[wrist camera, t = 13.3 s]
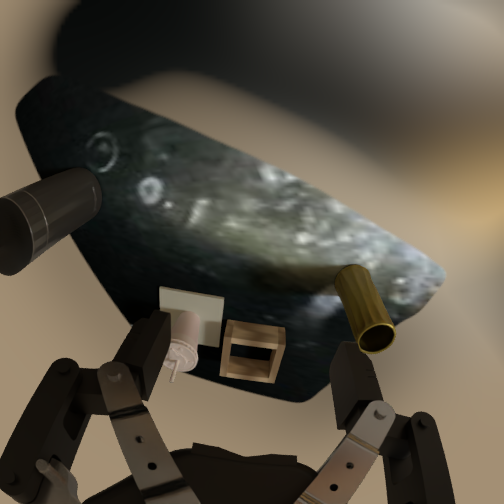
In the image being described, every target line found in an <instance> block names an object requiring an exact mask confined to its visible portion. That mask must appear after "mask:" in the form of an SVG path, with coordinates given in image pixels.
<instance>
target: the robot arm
mask: <svg viewBox="0 0 504 504" xmlns="http://www.w3.org/2000/svg"><path fill="white" fill-rule="evenodd" d="M101 203H102V193H101V188H100V185H99V183H98V180H97V179H96V177H95V176H94V175H93V174H92V173H91V172H90V171H88V170H87V169H85V168H81V167H76V168H72V169H69V170H67V171H64V172H61V173H58V174H55V175H53V176H50V177H48V178H45V179H43V180H40V181H38V182H35V183H33V184H30V185H28V186H26V187H24V188H21V189H19V190H16V191H14V192H12V193H10V194H8V195H6V196H3V197H1V198H0V273H1V274H3V275H7V276H11V275H14V274H17V273H18V272H19V271H21V270H22V269H23V268H25V267H26V266H27V265H28V264H29V263H31V262H32V261H33V260H35V259H36V258H37V257H38V256H40V255H41V254H42V253H44V252H45V251H46V250H48V249H49V248H50V247H52V246H53V245H54V244H56V243H57V242H58V241H60V240H61V239H63V238H64V237H66V236H67V235H68V234H70V233H71V232H73V231H74V230H75V229H77V228H78V227H80V226H81V225H83V224H84V223H86V222H87V221H89V220H90V219H92V218H93V217H94V216H95V215H96V214H97V213H98V211H99V209H100V206H101ZM170 343H171V314H170V313H168V312H164V311H159V310H154V311H153V313H152V315H151V316H150V318H149V319H146V318H141V319H140V320H138V321H137V322H135V323H134V325H133V326H132V328H131V330H130V332H129V333H128V335H127V336H126V339H125V340H124V341H123V343H122V345H121V346H120V348H119V350H118V352H117V354H116V355H115V357H114V359H113V360H112V361H110V362H107V363H104V364H103V365H102V366H101V367H100V368H98V369H88V368H79V366H78V364H77V362H75V361H74V360H72V359H70V358H61V359H58V360H56V361H54V362H53V363H52V365H51V366H50V368H49V369H48V371H47V372H46V374H45V376H44V377H43V380H42V381H41V383H40V384H39V386H38V388H37V389H36V391H35V393H34V394H33V396H32V398H31V400H30V401H29V403H28V405H27V407H26V409H25V410H24V412H23V414H22V416H21V418H20V420H19V422H18V423H17V425H16V427H15V429H14V431H13V433H12V435H11V437H10V439H9V441H8V443H7V445H6V447H5V450H4V452H3V454H2V456H1V458H0V489H1V490H2V491H3V492H5V493H6V494H7V495H9V496H10V497H12V498H13V499H14V500H15V501H17V502H18V503H20V504H81V503H80V501H79V499H78V496H77V488H78V487H77V485H78V484H77V481H76V479H75V477H74V476H73V475H72V473H71V472H70V469H71V466H72V463H73V461H74V458H75V455H76V453H77V450H78V447H79V445H80V442H81V440H82V437H83V435H84V432H85V429H86V427H87V425H88V422H89V420H90V417H91V415H92V414H95V415H109V417H110V420H111V423H112V426H113V428H114V431H115V434H116V437H117V439H118V442H119V445H120V447H121V449H122V452H123V455H124V457H125V459H126V462H127V464H128V466H129V469H130V471H131V473H132V475H130V476H128V477H126V478H125V479H123V480H121V481H120V482H118V483H116V484H114V485H112V486H110V487H108V488H107V489H105V490H103V491H101V492H99V493H97V494H96V495H93V496H91V497H90V498H88V499H86V500H85V501H84V502H83V503H82V504H347V503H348V501H349V500H350V498H351V497H352V496H353V494H354V493H355V491H356V490H357V488H358V487H359V485H360V484H361V482H362V481H363V479H364V478H365V476H366V474H367V473H368V471H369V470H370V468H371V466H372V465H373V463H374V461H375V460H376V458H377V456H378V455H382V456H383V464H384V472H385V480H386V489H387V500H388V504H455V499H454V493H453V488H452V484H451V479H450V475H449V470H448V467H447V462H446V458H445V454H444V451H443V447H442V443H441V439H440V436H439V432H438V429H437V425H436V422H435V420H434V419H433V417H432V416H431V415H429V414H428V413H426V412H416V413H415V414H414V415H413V416H412V417H407V416H402V415H398V414H396V413H395V411H394V409H393V408H392V407H391V406H390V405H389V404H388V403H386V402H384V400H383V397H382V394H381V390H380V387H379V384H378V380H377V378H376V374H375V371H374V367H373V364H372V361H371V360H370V359H369V357H368V356H367V355H366V354H362V353H361V351H360V348H359V345H358V343H356V342H347V341H342V342H341V343H340V345H339V347H338V349H337V352H336V354H335V356H334V358H333V360H332V362H331V365H330V371H329V375H330V382H331V388H332V395H333V401H334V407H335V415H336V422H337V429H338V430H346V435H345V437H344V438H343V439H342V441H341V442H340V443H339V445H338V446H337V447H336V449H335V450H334V451H333V452H332V454H331V455H330V456H329V458H328V459H327V460H326V462H325V463H324V464H323V465H322V466H321V467H320V468H319V470H318V471H317V472H316V471H315V470H313V469H312V468H310V467H308V466H306V465H304V464H301V463H298V462H297V456H293V455H278V454H268V455H260V456H250V457H244V456H241V455H238V454H235V453H232V452H230V451H227V450H225V449H222V448H220V447H215V446H209V445H204V444H199V443H193V446H192V448H186V449H179V450H175V451H172V452H169V451H168V449H167V447H166V446H165V444H164V442H163V440H162V438H161V436H160V434H159V432H158V430H157V428H156V426H155V423H154V421H153V419H152V417H151V415H150V413H149V411H148V409H147V407H145V406H144V404H143V402H142V400H145V401H148V400H149V397H150V395H151V392H152V390H153V387H154V385H155V382H156V380H157V377H158V375H159V372H160V370H161V367H162V365H163V362H164V360H165V358H166V355H167V353H168V350H169V347H170Z"/></svg>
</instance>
